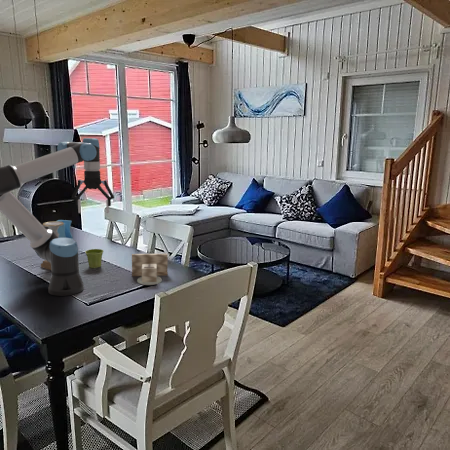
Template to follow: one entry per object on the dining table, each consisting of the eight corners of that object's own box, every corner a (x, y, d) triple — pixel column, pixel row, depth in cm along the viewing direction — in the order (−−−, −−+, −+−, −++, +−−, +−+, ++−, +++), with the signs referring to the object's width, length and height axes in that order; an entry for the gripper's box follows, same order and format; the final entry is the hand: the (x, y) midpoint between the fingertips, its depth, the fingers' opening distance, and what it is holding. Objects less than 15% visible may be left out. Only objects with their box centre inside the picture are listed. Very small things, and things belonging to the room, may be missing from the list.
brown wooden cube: (156, 277, 201) (156, 263, 200) (156, 281, 195) (156, 267, 193) (142, 277, 200) (142, 263, 199) (142, 282, 194) (141, 268, 192)
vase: (66, 256, 231) (64, 223, 227) (53, 255, 232) (51, 222, 228) (73, 253, 239) (71, 220, 234) (61, 252, 240) (59, 219, 235)
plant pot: (101, 269, 211) (100, 254, 210) (83, 269, 211) (82, 253, 209) (106, 264, 221) (105, 249, 219) (89, 263, 220) (88, 248, 219)
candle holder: (58, 262, 221) (55, 220, 216) (71, 265, 216) (69, 222, 211) (40, 267, 212) (37, 223, 207) (53, 271, 207) (50, 226, 202)
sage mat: (152, 286, 190) (152, 285, 190) (132, 282, 195) (132, 281, 195) (166, 279, 201) (166, 278, 201) (146, 275, 205) (146, 274, 205)
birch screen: (167, 272, 210) (167, 252, 207) (167, 275, 206) (167, 255, 204) (132, 273, 207) (132, 253, 205) (131, 276, 203) (131, 255, 201)
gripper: (119, 170, 201) (120, 211, 206) (67, 169, 197) (69, 211, 202) (117, 171, 194) (118, 214, 198) (63, 170, 190) (66, 213, 194)
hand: (93, 212), depth 200 cm, fingers open, 13 cm apart
